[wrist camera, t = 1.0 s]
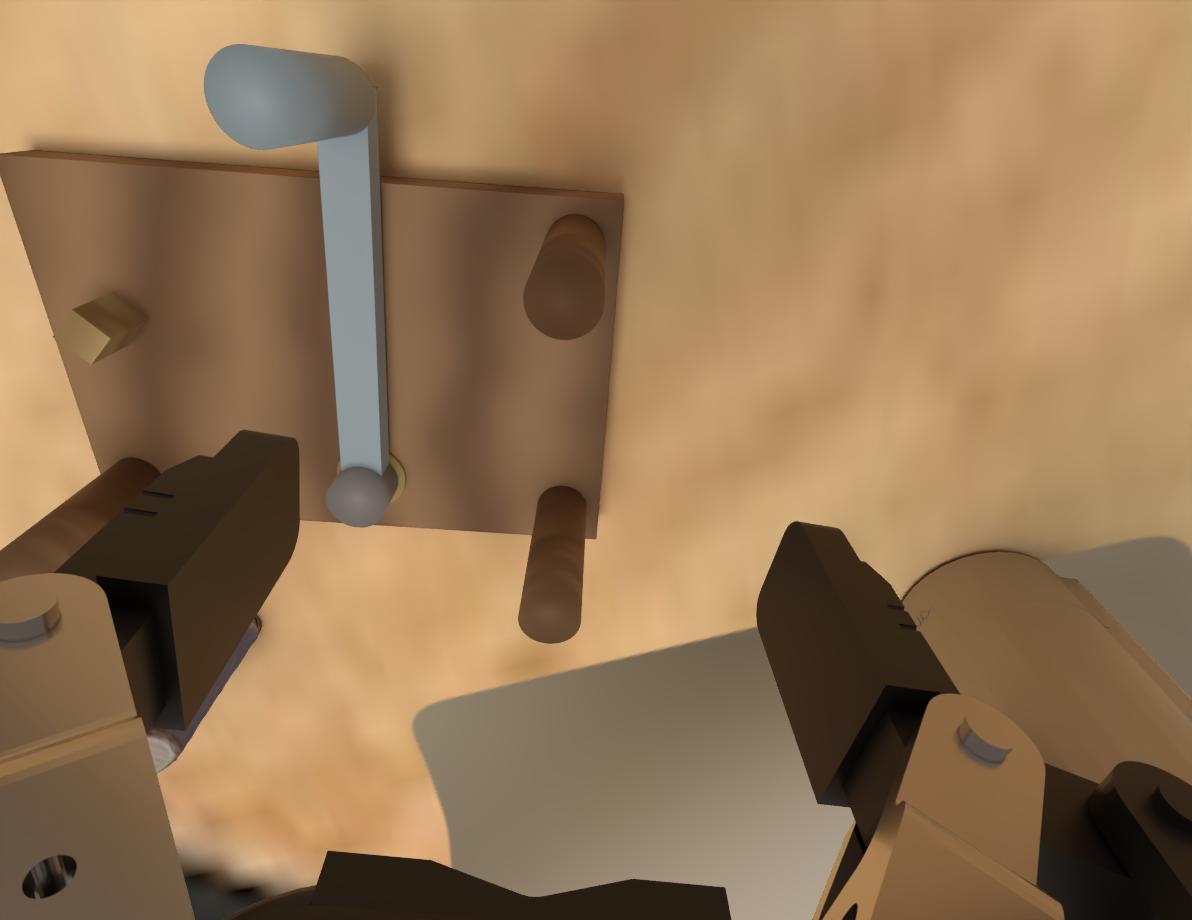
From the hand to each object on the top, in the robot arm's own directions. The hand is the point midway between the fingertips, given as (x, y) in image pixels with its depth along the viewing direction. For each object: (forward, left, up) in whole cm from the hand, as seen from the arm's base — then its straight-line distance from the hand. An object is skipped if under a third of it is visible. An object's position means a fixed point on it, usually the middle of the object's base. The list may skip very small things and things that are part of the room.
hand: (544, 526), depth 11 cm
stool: (+11, +5, -20) cm, 24 cm away
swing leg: (+9, +3, -18) cm, 20 cm away
